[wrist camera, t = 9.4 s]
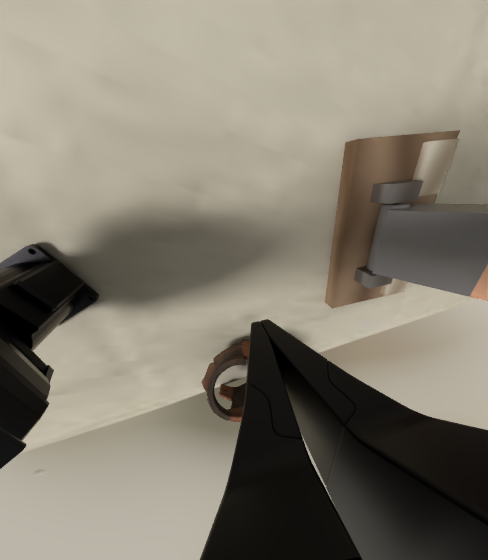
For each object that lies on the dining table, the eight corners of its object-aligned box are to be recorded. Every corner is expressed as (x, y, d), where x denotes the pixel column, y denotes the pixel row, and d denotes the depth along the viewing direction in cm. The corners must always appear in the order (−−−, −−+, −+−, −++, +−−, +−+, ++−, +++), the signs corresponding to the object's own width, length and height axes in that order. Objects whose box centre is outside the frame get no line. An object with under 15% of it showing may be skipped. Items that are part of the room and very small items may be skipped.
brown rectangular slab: (325, 301, 26) (343, 319, 23) (345, 142, 17) (380, 133, 14) (393, 286, 28) (419, 300, 24) (441, 134, 19) (493, 123, 16)
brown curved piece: (200, 387, 29) (190, 426, 21) (215, 327, 30) (211, 341, 22) (275, 402, 30) (293, 445, 22) (288, 343, 31) (310, 363, 22)
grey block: (360, 272, 21) (497, 305, 14) (374, 207, 18) (559, 212, 11) (373, 260, 23) (497, 284, 17) (387, 201, 20) (548, 202, 13)
